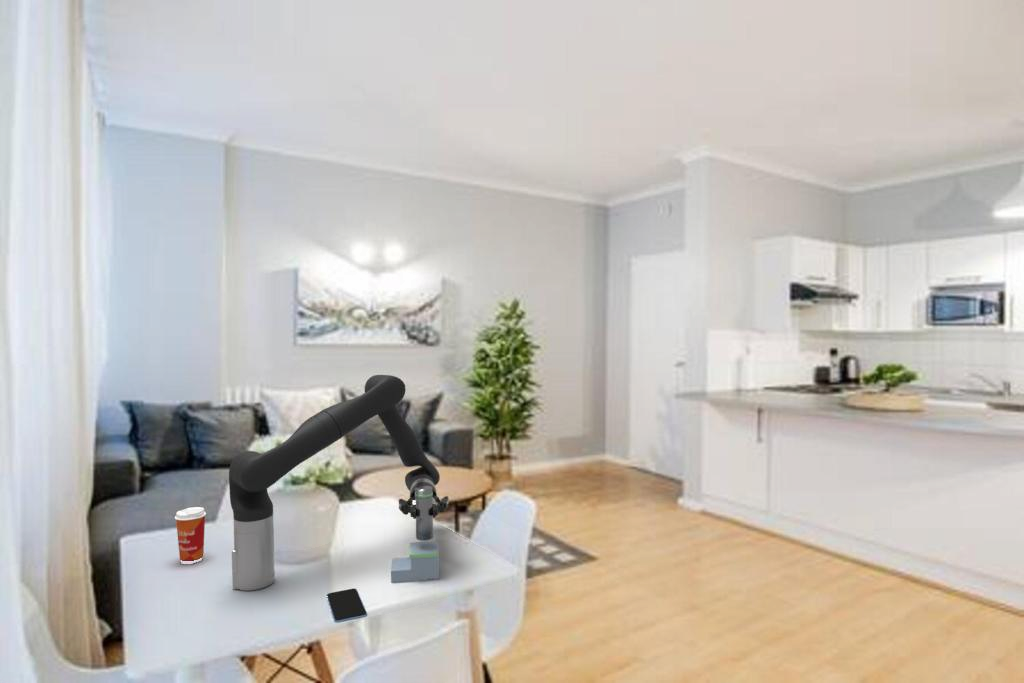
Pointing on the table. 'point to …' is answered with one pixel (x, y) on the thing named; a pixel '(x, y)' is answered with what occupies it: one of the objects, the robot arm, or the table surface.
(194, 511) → the paper cup
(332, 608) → the smartphone
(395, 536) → the table surface
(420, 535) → the steel thermos flask
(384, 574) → the table surface
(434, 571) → the blue-grey stepped block
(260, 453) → the robot arm
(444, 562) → the table surface
